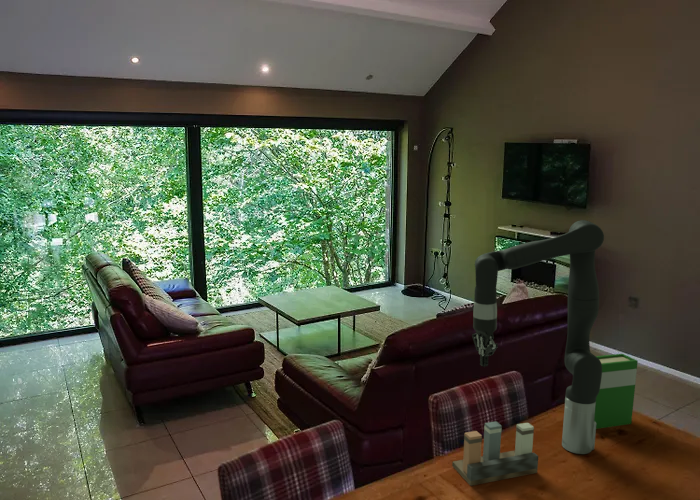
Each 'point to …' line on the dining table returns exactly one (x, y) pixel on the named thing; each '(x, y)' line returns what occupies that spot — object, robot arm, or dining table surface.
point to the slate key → (492, 441)
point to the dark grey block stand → (498, 468)
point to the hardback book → (616, 391)
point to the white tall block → (524, 439)
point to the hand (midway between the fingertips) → (484, 365)
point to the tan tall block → (471, 449)
